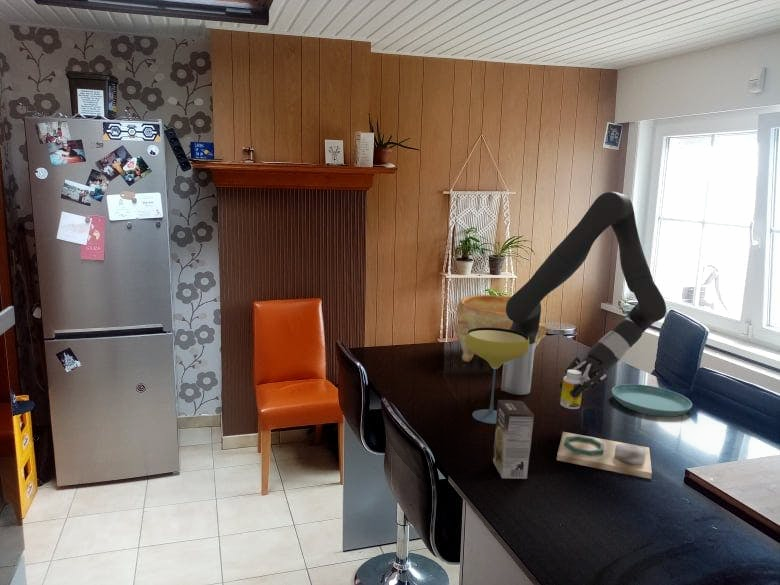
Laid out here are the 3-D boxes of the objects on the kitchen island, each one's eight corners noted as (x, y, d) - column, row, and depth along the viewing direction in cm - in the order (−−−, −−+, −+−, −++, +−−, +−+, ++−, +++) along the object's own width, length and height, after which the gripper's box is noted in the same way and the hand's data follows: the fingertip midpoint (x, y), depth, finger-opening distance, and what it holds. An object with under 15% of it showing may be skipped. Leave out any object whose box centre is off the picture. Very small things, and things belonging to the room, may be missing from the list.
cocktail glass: (523, 411, 186) (531, 331, 182) (519, 433, 169) (528, 346, 165) (464, 402, 191) (471, 324, 186) (455, 423, 174) (461, 338, 169)
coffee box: (491, 461, 151) (497, 399, 148) (516, 461, 151) (522, 399, 149) (501, 479, 142) (507, 413, 139) (528, 479, 143) (534, 413, 140)
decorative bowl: (433, 347, 253) (436, 293, 249) (508, 345, 264) (513, 293, 260) (467, 373, 221) (472, 311, 217) (551, 369, 232) (557, 310, 228)
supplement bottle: (571, 411, 169) (575, 375, 167) (555, 404, 173) (559, 369, 171) (584, 407, 172) (588, 373, 170) (568, 401, 176) (573, 367, 174)
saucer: (643, 422, 183) (645, 412, 183) (595, 394, 206) (596, 385, 205) (708, 417, 190) (710, 407, 190) (655, 391, 213) (656, 382, 212)
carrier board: (556, 460, 153) (558, 445, 153) (562, 436, 168) (563, 423, 168) (651, 478, 146) (653, 463, 145) (648, 452, 161) (650, 438, 160)
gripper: (587, 334, 178) (545, 375, 177) (617, 348, 164) (572, 392, 163) (601, 352, 180) (560, 391, 179) (631, 367, 166) (587, 410, 166)
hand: (566, 391), depth 171 cm, fingers closed on supplement bottle, 5 cm apart
